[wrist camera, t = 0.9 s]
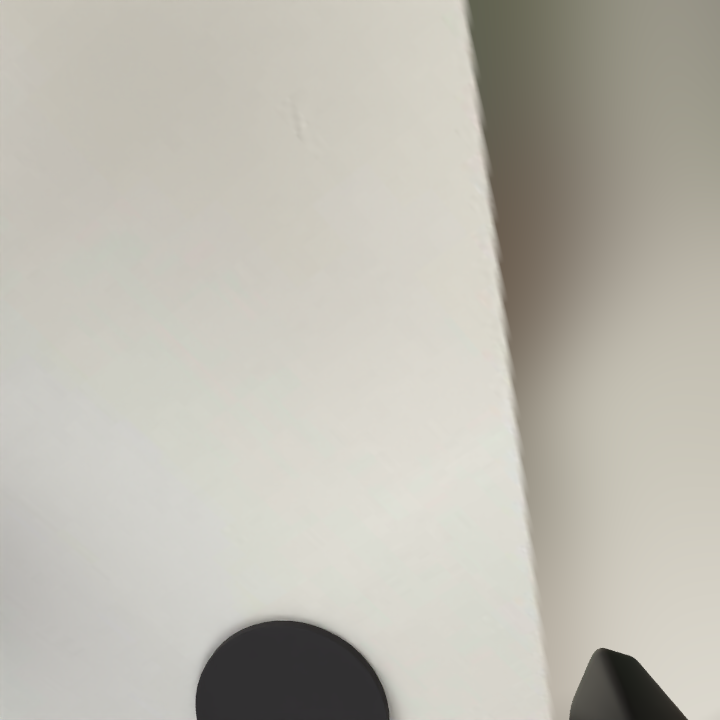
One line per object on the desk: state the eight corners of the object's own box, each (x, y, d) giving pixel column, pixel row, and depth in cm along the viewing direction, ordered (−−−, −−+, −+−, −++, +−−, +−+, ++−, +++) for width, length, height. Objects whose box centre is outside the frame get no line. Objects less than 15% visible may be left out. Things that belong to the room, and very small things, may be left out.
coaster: (230, 808, 25) (226, 816, 25) (175, 637, 24) (171, 643, 24) (411, 786, 24) (410, 795, 24) (360, 605, 23) (358, 611, 23)
